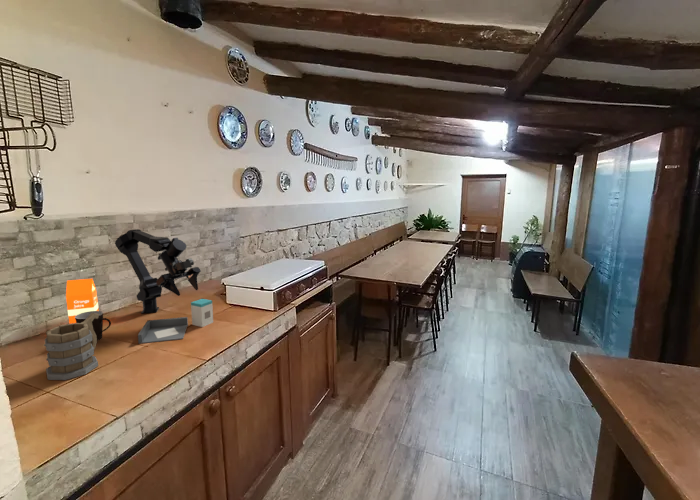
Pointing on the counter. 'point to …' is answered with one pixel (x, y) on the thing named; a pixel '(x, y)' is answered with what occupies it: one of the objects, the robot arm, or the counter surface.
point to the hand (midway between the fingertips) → (188, 292)
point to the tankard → (71, 349)
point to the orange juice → (80, 297)
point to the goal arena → (163, 330)
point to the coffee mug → (94, 322)
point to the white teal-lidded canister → (202, 312)
